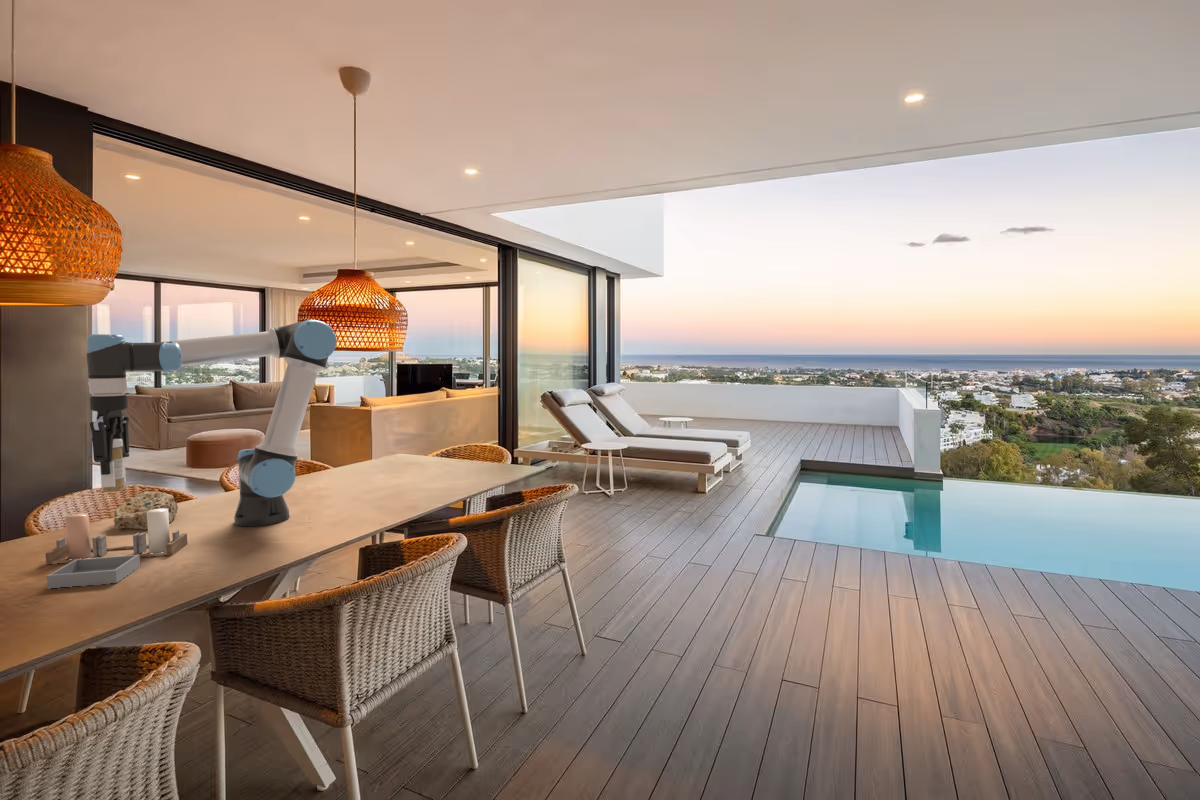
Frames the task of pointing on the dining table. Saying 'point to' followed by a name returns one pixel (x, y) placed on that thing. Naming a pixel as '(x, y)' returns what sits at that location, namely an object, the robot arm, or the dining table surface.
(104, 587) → the dining table surface
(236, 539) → the dining table surface
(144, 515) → the rock
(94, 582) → the tray
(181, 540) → the rack
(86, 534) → the pink cylinder
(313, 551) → the dining table surface
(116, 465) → the sprinkles bottle
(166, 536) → the cream jar
